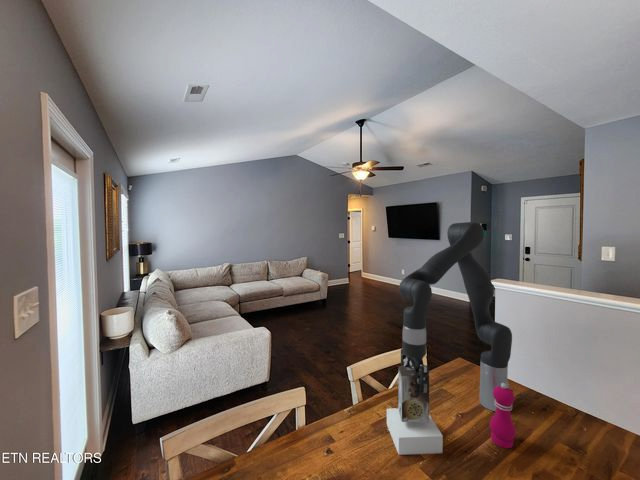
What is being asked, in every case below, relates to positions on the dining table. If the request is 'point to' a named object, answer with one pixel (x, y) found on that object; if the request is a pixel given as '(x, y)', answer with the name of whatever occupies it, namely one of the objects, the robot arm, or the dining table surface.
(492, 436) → the pepper mill
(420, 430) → the riser block
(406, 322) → the robot arm
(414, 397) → the coffee box
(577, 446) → the dining table surface
